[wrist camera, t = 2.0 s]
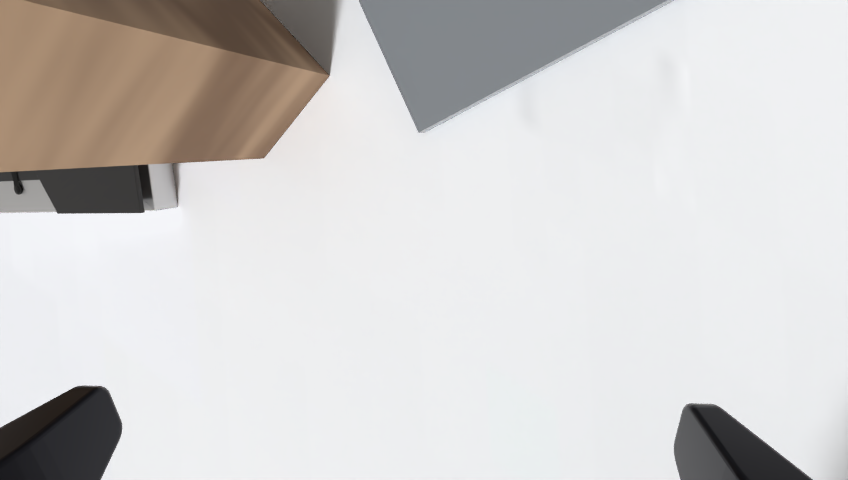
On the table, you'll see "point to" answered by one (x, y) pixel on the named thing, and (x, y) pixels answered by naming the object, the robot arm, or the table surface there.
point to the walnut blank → (146, 82)
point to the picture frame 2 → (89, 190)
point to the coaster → (484, 44)
